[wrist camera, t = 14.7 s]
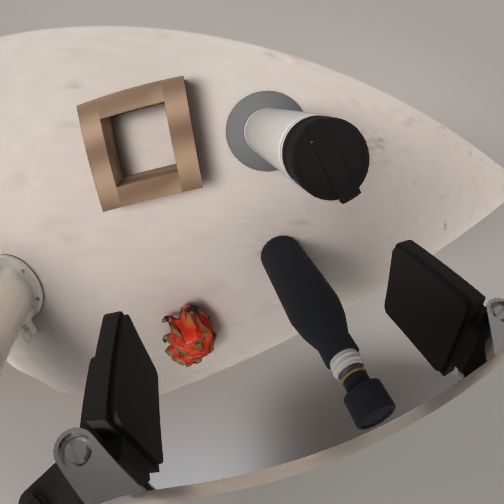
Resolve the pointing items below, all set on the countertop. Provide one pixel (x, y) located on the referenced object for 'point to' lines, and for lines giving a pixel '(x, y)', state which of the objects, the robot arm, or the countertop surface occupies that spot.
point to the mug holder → (106, 155)
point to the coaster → (240, 115)
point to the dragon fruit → (189, 336)
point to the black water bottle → (324, 327)
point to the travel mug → (311, 150)
